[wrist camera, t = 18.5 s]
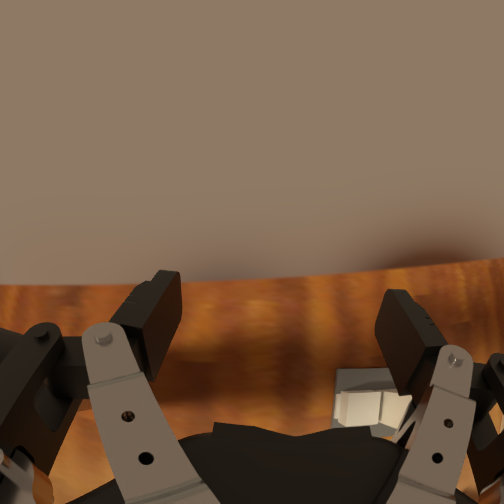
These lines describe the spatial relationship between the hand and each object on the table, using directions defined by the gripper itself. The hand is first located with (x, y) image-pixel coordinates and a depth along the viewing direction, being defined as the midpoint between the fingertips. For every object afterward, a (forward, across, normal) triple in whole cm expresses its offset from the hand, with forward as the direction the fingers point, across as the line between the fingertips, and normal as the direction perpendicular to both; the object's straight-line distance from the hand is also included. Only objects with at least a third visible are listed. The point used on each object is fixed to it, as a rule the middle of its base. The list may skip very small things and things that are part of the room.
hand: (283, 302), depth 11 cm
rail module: (+17, -21, +29) cm, 40 cm away
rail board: (+18, -21, +31) cm, 42 cm away
